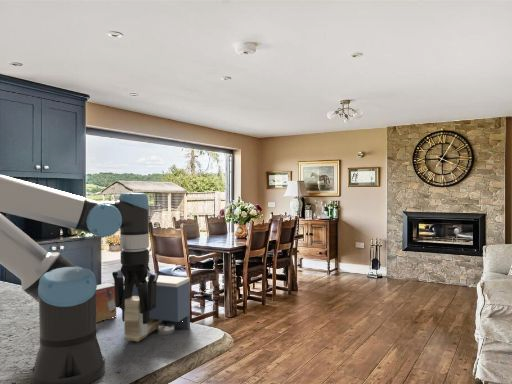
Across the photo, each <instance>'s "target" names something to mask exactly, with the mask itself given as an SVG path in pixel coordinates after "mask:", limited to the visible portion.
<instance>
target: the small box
mask: <svg viewBox="0 0 512 384" xmlns="http://www.w3.org/2000/svg"><path fill="white" fill-rule="evenodd" d="M115 316H116V317H117V307H116V305H115V284H113V283H108V282H105V283H102V284H101V283H100V284H97V288H96V324H97V323H101V322H103V321H102V320H104V321H107V320H106V319H108V320H110V319H109V318H112V317H115ZM112 319H113V318H112Z"/></svg>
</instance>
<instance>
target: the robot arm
mask: <svg viewBox="0 0 512 384" xmlns="http://www.w3.org/2000/svg"><path fill="white" fill-rule="evenodd" d="M0 212H1V213H0V265H1V266H3V267H4V268H5V269H6V270H8V271H9V272H10V273H12V274H13V275H14V276H16V277H17V278H18V279H19V280H20V282H21V290H23V292H25V293H26V294H27V295H29V296H30V297H31V298H32V299H34V300H35V301H36V302H38V306H39V307H38V310H39V313H38V315H39V348H38V351H37V353H36V357H35V362H34V365H33V367H32V369H31V374H30V376H31V377H30V378H31V380H30V381H31V384H92V383H94V382H95V381H96V380H99V379H100V378H102V377H103V374H105V371H106V360H105V357H104V355H103V353H102V351H101V346H100V343H99V340H98V337H97V323H96V288H97V285H98V283H97V280H96V276H95V273H94V272H93V271H92V270H91V269H89V268H83V267H81V266H78V265H76V264H74V263H72V262H71V261H70V260H69V259H67V258H66V257H65V256H64V255H62V254H61V253H60V252H59V251H58V252H57V251H56V252H49V251H47V249H45V248H43V246H42V245H40V244H39V243H38V242H36V241H35V240H34V239H33V238H31V237H30V235H28V234H27V233H25V232H24V231H23V230H22V229H21V228H19V227H18V226H16V225H15V224H14V223H13V222H12V221H11V220H10V219H8V218H7V217H6V216H5V215H4V214H9V215H14V216H17V217H21V218H26V219H31V220H34V221H39V222H43V223H47V224H52V225H56V226H60V227H64V228H69V229H72V230H73V231H79V232H84V233H89V234H92V235H94V236H97V237H101V238H106V237H111V236H113V235H115V234H117V233H118V232H119V233H120V234H119V235H120V236H119V239H120V240H119V241H120V245H119V247H120V249H121V251H120V264H121V267H120V269H119V270H115V271H113V272H112V273H111V275H112V278H113V281H114V284H113V285H115V305H116V308H119V309H121V317H122V318H121V319H122V322H124V323H123V324H124V325H123V326H124V327H123V328H124V329H123V330H124V331H123V332H124V334H125V299H127V298H130V297H132V291H133V286H134V284H135V285H136V288H137V289H138V294H139V300H140V305H141V311H140V312H139V337H142V336H144V335H146V334H147V323H149V321H150V320H149V311H151V310H153V309H154V308H156V285H157V279H158V276H159V273H158V272H155V273H154V272H153V271H151V269H150V267H149V263H150V250H149V249H148V248H149V247H150V236H149V235H150V233H149V230H150V229H149V226H150V225H149V224H150V223H149V222H150V221H149V217H150V216H149V215H150V214H149V213H150V207H149V196H148V195H147V194H146V193H144V192H124V193H121V194H120V195H119V198H118V200H96V199H91V198H86V197H85V196H84V197H83V196H80V195H76V194H72V193H70V192H66V191H62V190H58V189H54V188H52V187H47V186H44V185H41V184H36V183H33V182H29V181H25V180H22V179H18V178H14V177H11V176H7V175H3V174H0ZM2 213H4V214H2ZM119 230H120V231H119ZM147 276H148V278H147V280H148V293H147V287H146V285H147V281H146V277H147ZM140 283H141V284H140ZM147 335H148V334H147ZM147 335H146V336H147Z"/></svg>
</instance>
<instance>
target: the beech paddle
mask: <svg viewBox="0 0 512 384" xmlns="http://www.w3.org/2000/svg"><path fill="white" fill-rule="evenodd" d="M140 311H141V305H140V300H139V296H132V297H130V298H127V299H125V333H124V338H125V341H130V342H137V343H139V342H140V341H141V340H143V339H144V338H147V336H148V335H149V334H150V333H152V332H155V331H156V330H157V324H158V323H160V322H162V320H159V319H150V321H149V323H147V334H146V335H144V336H142V337H139V312H140Z"/></svg>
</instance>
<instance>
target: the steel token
mask: <svg viewBox="0 0 512 384" xmlns="http://www.w3.org/2000/svg"><path fill="white" fill-rule="evenodd" d="M156 330H157V332H158V333H159V334H158V333H157V334H158V335H160V334H163V335H162V336H168V334H169V335H172V334H174V333H175V332H176V328H175V323H174V322H171V321H165V322H160V323H158V324H157V329H156Z"/></svg>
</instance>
